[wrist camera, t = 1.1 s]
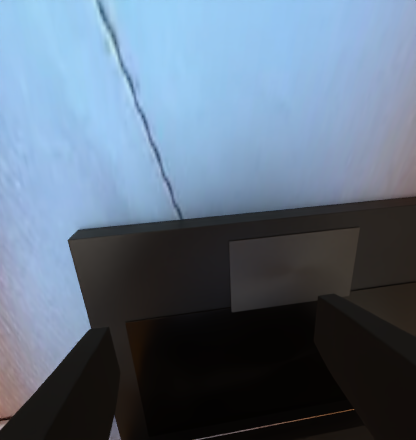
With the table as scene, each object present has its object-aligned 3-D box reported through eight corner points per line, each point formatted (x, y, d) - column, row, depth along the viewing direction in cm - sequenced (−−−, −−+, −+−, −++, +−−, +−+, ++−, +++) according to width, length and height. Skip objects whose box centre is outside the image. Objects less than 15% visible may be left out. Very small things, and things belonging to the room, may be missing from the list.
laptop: (77, 229, 17) (66, 240, 15) (461, 191, 20) (489, 197, 19) (127, 430, 24) (124, 454, 22) (407, 379, 27) (424, 396, 26)
